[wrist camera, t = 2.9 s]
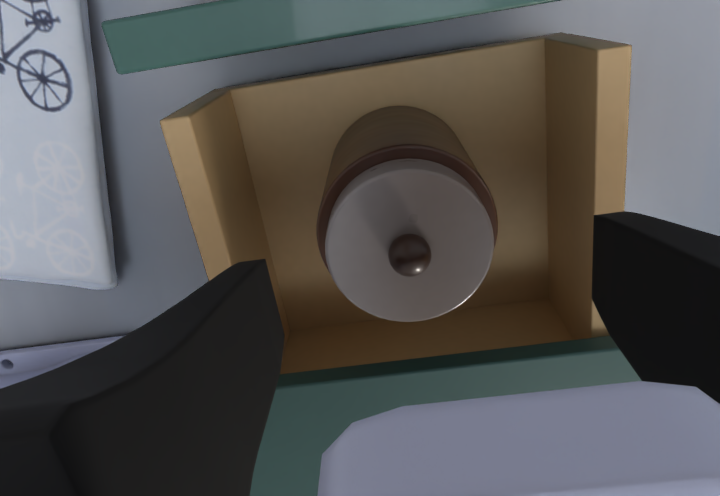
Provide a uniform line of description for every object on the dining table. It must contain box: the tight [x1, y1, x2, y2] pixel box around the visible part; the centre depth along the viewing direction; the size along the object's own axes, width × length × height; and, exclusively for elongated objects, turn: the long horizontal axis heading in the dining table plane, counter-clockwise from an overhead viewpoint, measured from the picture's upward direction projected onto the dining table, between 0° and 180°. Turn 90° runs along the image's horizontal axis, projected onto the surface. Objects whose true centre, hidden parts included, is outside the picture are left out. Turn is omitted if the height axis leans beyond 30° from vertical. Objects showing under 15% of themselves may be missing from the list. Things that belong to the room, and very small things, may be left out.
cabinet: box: [250, 336, 642, 496], centre depth 21 cm, size 13×14×7 cm
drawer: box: [102, 0, 632, 374], centre depth 16 cm, size 16×13×6 cm
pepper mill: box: [316, 106, 498, 322], centre depth 15 cm, size 5×5×7 cm
